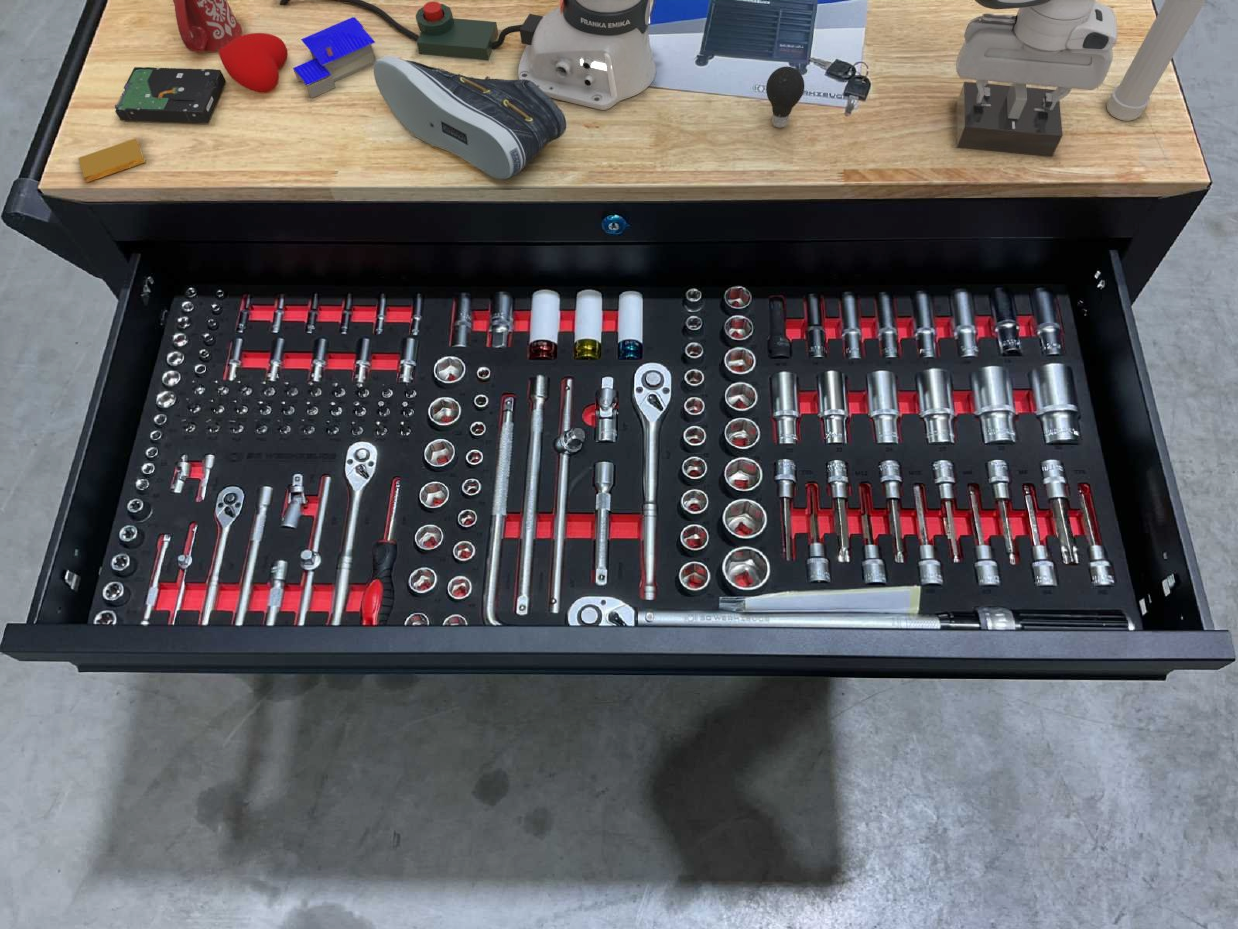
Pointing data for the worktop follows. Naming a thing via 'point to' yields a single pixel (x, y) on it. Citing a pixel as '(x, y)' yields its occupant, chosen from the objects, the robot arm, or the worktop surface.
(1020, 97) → the grey switch knob
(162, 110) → the disk drive
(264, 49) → the heart
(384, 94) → the boat shoe
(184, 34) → the mug
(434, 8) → the button
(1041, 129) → the lever switch box
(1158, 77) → the pipe
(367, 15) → the worktop surface
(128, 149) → the golden brown flat block
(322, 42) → the house
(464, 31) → the button box
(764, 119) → the worktop surface
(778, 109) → the light bulb
